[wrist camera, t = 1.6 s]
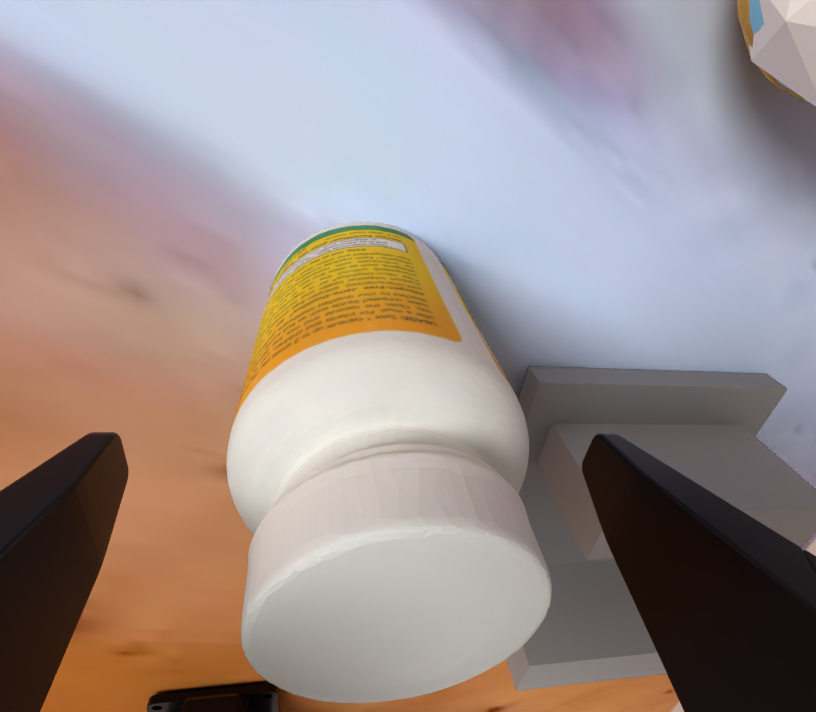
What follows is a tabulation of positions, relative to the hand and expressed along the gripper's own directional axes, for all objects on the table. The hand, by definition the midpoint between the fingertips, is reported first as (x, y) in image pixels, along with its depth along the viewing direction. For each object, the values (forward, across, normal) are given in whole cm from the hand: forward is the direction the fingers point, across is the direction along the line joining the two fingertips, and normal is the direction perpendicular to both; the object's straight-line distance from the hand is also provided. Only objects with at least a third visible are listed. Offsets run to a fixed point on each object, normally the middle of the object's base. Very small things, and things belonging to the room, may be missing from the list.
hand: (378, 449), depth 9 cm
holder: (+6, -11, +9) cm, 15 cm away
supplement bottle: (+6, 0, 0) cm, 6 cm away
